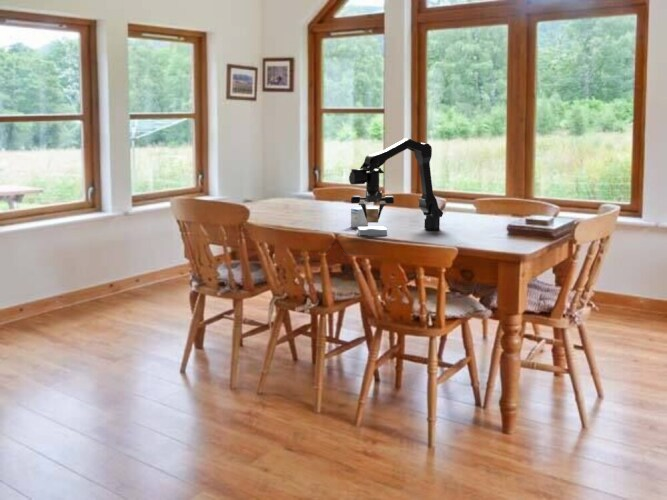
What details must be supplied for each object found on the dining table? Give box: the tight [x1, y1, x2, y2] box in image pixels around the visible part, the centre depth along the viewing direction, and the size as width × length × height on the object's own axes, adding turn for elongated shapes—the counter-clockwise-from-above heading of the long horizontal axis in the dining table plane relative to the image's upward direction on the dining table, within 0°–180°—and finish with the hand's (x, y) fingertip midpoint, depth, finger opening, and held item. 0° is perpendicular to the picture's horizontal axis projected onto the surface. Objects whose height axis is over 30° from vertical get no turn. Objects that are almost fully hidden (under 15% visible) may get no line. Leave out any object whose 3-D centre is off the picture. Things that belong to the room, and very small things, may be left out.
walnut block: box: [366, 206, 379, 224], centre depth 339 cm, size 5×5×6 cm
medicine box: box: [350, 206, 369, 229], centre depth 361 cm, size 8×4×9 cm, turn 141°
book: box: [357, 226, 388, 237], centre depth 340 cm, size 12×9×3 cm
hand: (372, 219), depth 339 cm, fingers closed on walnut block, 5 cm apart
